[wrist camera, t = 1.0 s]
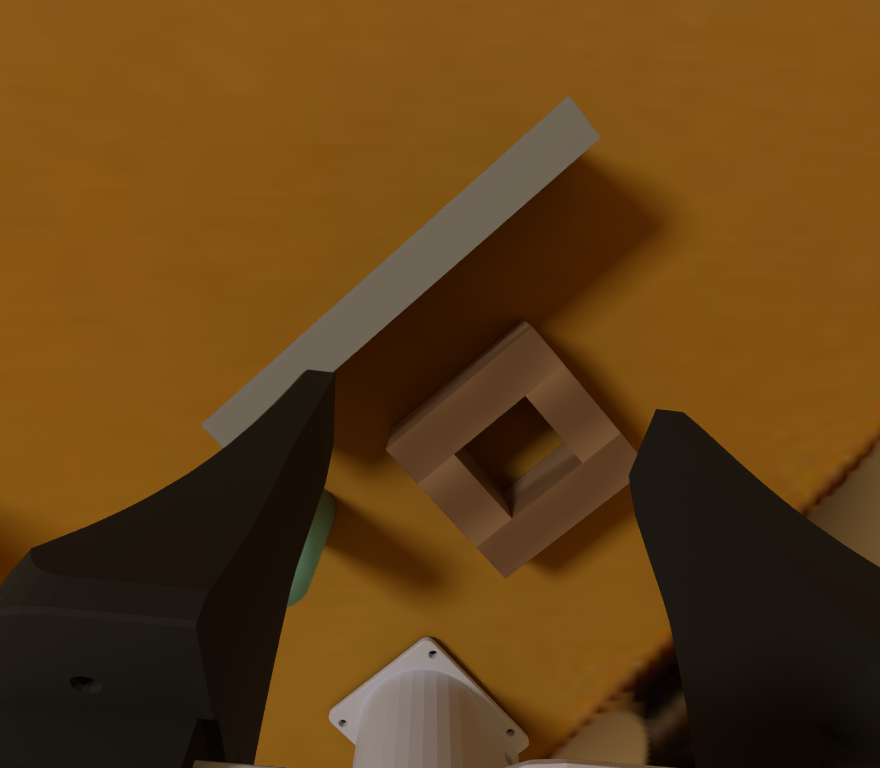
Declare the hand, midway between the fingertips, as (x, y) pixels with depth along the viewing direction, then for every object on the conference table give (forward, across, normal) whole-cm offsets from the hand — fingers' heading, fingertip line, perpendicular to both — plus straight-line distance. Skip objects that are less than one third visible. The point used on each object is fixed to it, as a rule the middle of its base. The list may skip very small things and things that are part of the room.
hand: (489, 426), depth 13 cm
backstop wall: (+17, +3, +5) cm, 18 cm away
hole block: (+14, -4, +12) cm, 19 cm away
